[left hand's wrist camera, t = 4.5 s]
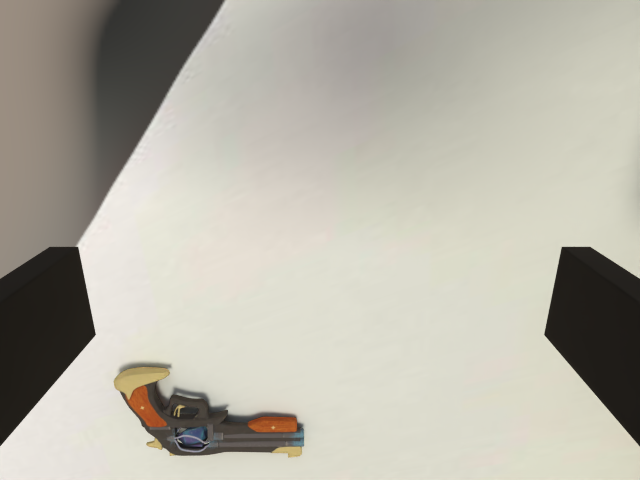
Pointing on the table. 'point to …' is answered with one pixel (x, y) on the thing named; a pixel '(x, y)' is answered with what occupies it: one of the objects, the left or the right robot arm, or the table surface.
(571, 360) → the left robot arm
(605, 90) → the table surface
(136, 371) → the toy gun
